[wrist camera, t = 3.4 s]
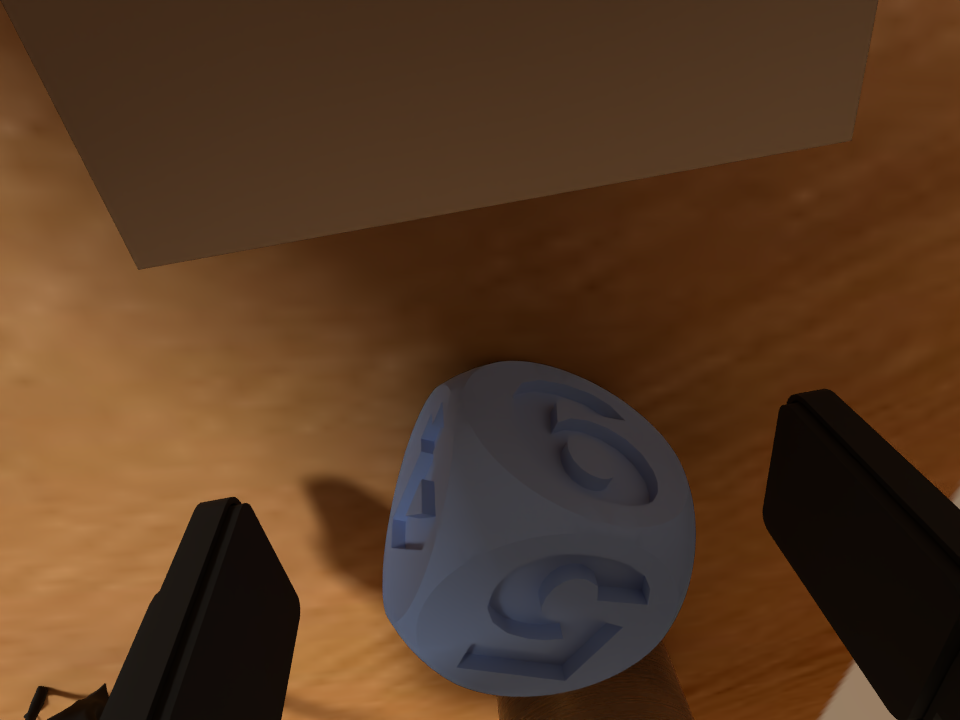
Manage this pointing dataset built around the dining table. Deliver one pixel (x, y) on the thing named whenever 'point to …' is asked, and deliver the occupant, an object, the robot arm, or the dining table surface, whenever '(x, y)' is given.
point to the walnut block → (421, 103)
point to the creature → (78, 716)
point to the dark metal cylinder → (611, 696)
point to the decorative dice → (535, 533)
